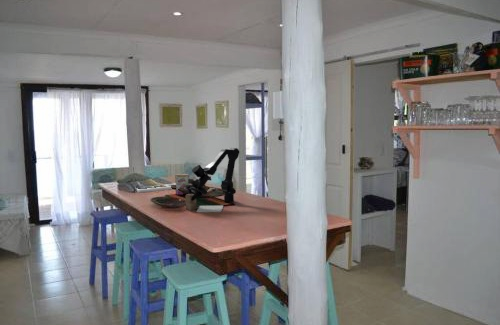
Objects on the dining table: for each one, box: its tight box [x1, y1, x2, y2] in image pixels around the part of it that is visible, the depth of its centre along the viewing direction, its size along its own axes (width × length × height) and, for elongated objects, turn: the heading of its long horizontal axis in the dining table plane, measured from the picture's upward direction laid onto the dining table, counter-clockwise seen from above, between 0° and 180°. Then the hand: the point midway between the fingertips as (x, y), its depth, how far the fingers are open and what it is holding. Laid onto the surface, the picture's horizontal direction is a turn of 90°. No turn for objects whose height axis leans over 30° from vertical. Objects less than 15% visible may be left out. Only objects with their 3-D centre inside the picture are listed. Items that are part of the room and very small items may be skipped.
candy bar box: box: [174, 173, 191, 196], centre depth 316 cm, size 11×5×16 cm, turn 84°
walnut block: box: [185, 194, 197, 211], centre depth 260 cm, size 5×5×10 cm
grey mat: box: [196, 205, 224, 213], centre depth 260 cm, size 16×16×1 cm
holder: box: [136, 182, 176, 194], centre depth 347 cm, size 45×18×3 cm, turn 121°
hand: (189, 199), depth 259 cm, fingers closed on walnut block, 5 cm apart
